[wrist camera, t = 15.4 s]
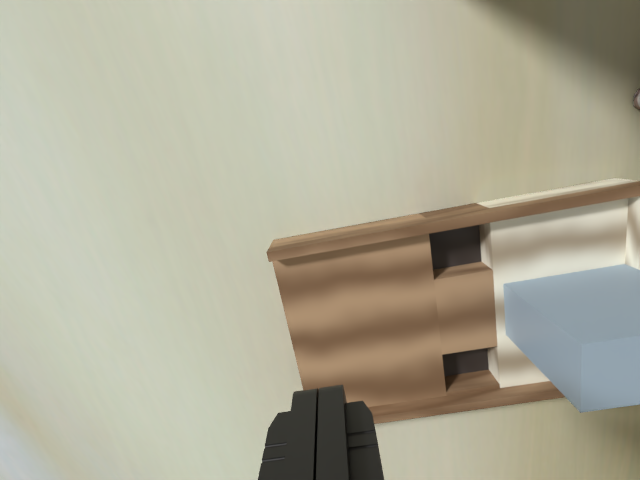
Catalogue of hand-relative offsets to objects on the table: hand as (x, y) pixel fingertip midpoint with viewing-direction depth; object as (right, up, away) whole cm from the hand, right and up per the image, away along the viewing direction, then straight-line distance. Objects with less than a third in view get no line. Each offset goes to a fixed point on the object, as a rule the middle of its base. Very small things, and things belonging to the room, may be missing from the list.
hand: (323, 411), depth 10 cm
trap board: (+15, -2, +28) cm, 32 cm away
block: (+25, -1, +25) cm, 35 cm away
